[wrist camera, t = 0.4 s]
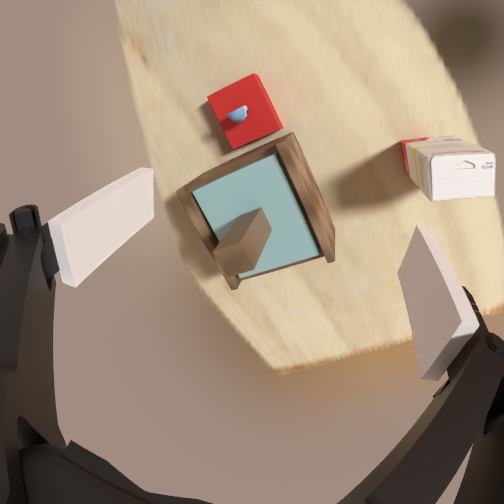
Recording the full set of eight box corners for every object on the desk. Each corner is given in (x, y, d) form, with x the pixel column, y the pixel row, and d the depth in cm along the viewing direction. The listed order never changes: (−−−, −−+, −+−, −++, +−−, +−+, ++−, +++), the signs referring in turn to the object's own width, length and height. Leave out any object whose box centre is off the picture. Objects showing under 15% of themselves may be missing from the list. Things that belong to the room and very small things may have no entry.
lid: (196, 188, 37) (154, 221, 28) (276, 152, 32) (255, 175, 24) (242, 273, 42) (217, 322, 33) (320, 249, 37) (314, 300, 28)
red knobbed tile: (283, 127, 38) (275, 132, 32) (238, 146, 40) (223, 154, 35) (258, 75, 35) (245, 71, 29) (214, 96, 38) (195, 97, 32)
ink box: (404, 174, 36) (429, 204, 26) (399, 139, 34) (425, 156, 24) (459, 169, 33) (497, 197, 23) (456, 135, 31) (496, 152, 21)
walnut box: (203, 172, 43) (175, 191, 36) (293, 132, 37) (283, 141, 30) (248, 257, 48) (231, 290, 41) (335, 229, 43) (334, 261, 35)
